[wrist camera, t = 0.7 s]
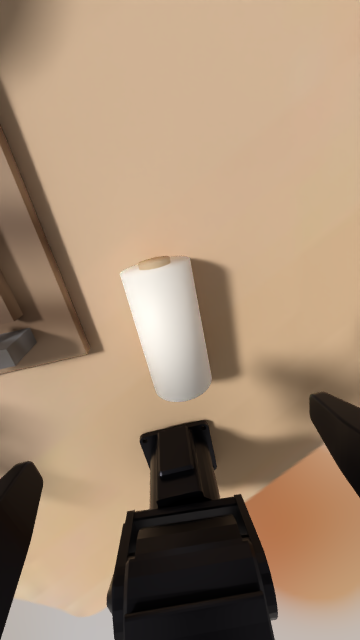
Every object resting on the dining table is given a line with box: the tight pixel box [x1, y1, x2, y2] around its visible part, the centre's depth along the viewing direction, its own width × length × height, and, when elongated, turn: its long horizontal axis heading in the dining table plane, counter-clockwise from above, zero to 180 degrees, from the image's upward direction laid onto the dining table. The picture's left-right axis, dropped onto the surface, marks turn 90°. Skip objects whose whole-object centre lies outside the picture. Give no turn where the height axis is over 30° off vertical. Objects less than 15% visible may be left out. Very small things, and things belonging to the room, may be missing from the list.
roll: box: [120, 256, 212, 402], centre depth 17 cm, size 10×4×4 cm, turn 12°
